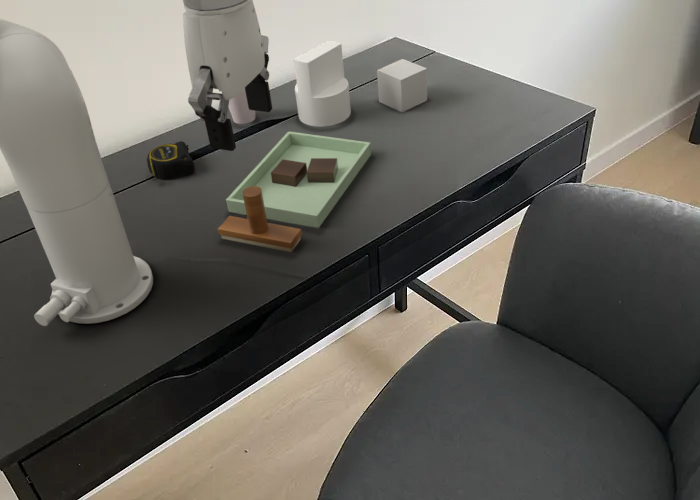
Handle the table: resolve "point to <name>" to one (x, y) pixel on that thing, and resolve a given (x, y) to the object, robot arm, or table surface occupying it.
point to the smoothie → (241, 109)
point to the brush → (258, 226)
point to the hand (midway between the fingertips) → (242, 128)
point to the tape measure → (170, 161)
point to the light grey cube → (402, 85)
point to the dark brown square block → (289, 173)
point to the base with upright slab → (322, 86)
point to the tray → (306, 198)
